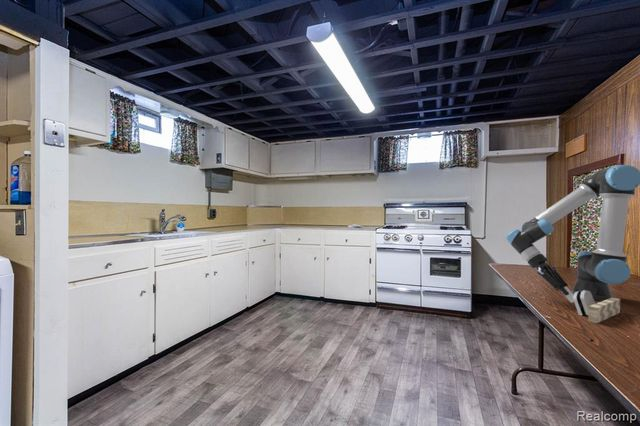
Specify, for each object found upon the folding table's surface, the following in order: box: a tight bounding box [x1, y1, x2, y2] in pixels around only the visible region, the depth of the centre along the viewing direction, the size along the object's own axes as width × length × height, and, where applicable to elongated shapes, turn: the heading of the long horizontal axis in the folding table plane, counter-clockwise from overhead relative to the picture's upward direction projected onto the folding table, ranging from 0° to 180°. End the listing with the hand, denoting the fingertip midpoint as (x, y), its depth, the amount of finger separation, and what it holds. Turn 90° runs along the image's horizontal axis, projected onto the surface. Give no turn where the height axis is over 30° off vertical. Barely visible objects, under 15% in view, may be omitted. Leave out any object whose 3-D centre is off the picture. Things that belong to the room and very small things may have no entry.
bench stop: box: [587, 296, 621, 324], centre depth 123 cm, size 26×2×6 cm, turn 121°
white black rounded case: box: [573, 291, 596, 316], centre depth 129 cm, size 17×5×10 cm, turn 130°
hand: (575, 301), depth 132 cm, fingers closed
